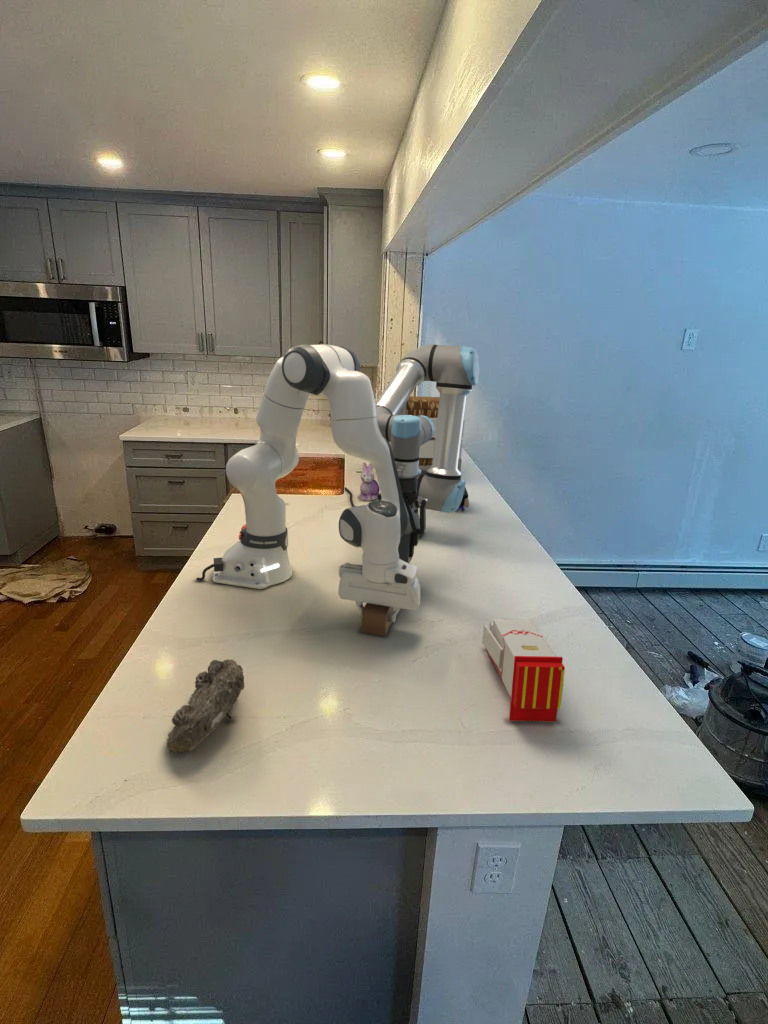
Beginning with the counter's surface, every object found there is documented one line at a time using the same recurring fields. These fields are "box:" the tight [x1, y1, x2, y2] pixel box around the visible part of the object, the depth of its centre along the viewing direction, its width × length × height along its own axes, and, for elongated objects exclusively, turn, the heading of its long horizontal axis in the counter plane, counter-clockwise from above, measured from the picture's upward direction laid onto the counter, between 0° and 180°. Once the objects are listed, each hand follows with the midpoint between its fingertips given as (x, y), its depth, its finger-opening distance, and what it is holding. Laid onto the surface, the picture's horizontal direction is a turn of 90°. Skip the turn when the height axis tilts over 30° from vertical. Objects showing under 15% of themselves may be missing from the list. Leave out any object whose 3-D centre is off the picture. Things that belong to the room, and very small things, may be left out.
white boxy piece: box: [389, 395, 465, 474], centre depth 268 cm, size 34×33×41 cm
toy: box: [481, 618, 566, 722], centre depth 122 cm, size 12×13×30 cm
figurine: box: [359, 462, 380, 502], centre depth 233 cm, size 9×10×15 cm
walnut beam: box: [360, 563, 413, 637], centre depth 151 cm, size 30×6×6 cm, turn 166°
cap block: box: [398, 526, 413, 564], centre depth 158 cm, size 6×6×10 cm
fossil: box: [166, 658, 245, 754], centre depth 106 cm, size 22×10×15 cm
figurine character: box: [455, 486, 470, 512], centre depth 229 cm, size 7×8×15 cm
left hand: (378, 618), depth 141 cm, fingers closed on walnut beam, 6 cm apart
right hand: (399, 553), depth 158 cm, fingers closed on cap block, 6 cm apart
